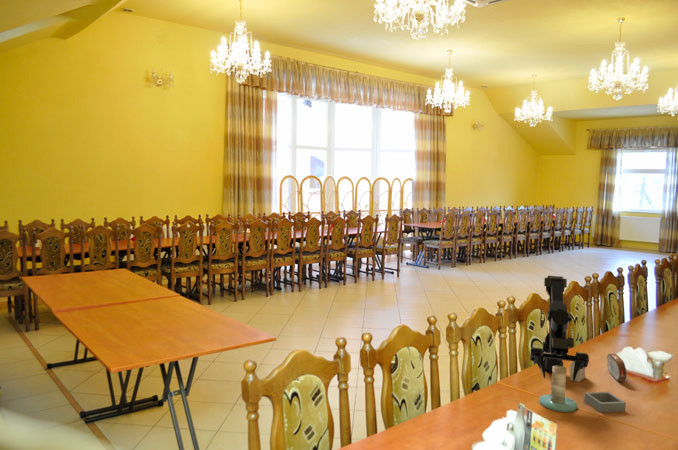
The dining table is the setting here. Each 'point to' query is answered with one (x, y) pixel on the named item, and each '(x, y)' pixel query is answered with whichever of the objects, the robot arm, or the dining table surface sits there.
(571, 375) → the milk carton
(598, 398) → the pocket
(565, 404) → the saucer
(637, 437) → the dining table surface
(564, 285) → the robot arm
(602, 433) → the dining table surface
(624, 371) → the tin
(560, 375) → the peg
